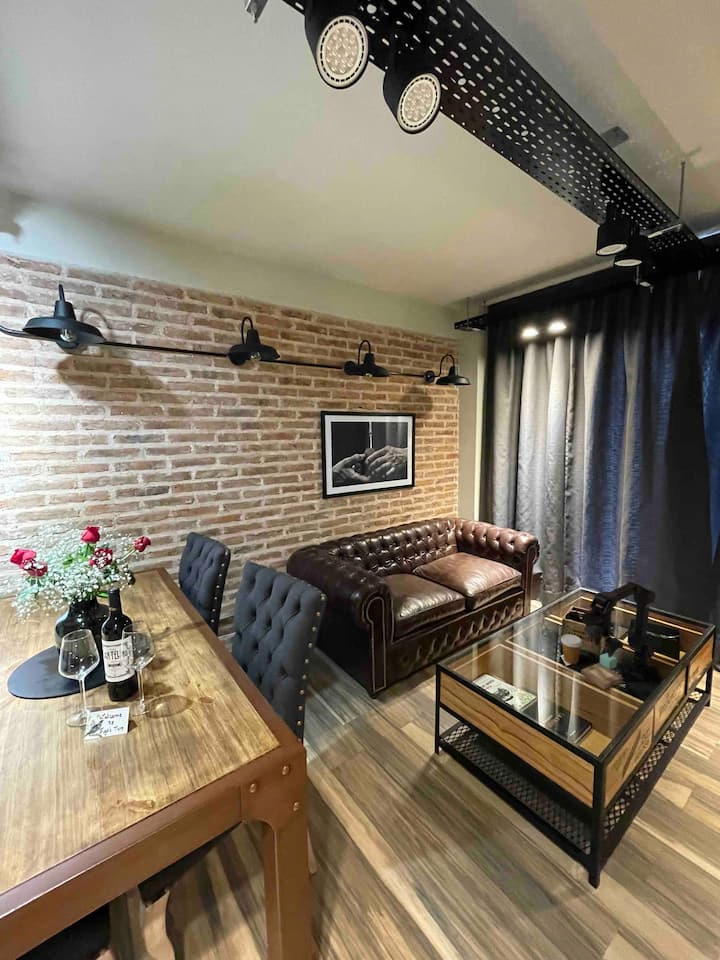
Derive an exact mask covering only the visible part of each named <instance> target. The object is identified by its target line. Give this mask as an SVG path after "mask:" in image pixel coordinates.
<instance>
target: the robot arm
mask: <svg viewBox="0 0 720 960" xmlns="http://www.w3.org/2000/svg"><path fill="white" fill-rule="evenodd" d="M632 595H633V600H634V602H635V604H636V607H635V611H636V612H635V620H634V627H633V628H634V630H633V633H632V634H631V635H628V637H627V638H628V640H627V644H628V646H629V649H630V650H632V651H634V652H633V658H632V660H630V663H631V664H633V665H635V666H636V667H638V668H640V669H642V670H645V669H647V668H650V667H652V666H653V664H651V663H650V661H649V660H650V659H652V658H653V657H654V654H655V651H654V650H653V648H652V647H651V642H650V640H649V638H648V624H649V614H650V607H651V606H653V605H654V604H655V599H656V596H657V595H656V592H654V591H653V590H651V589H649V588H646V587H644V586H642V585H640V584H639V583H636V582H634V581H628V582H627V583H626V584H624V585H621V586H620V587H617V588H615V589H613V590H610V591H600V592H597V593H596V594H595V596H594V597H593V598H592V601H591V602H590V605H589V606H588V607H589V608H590V609H589V610H585V613H583V614H582V615H581V621H582V623H584V625H585V627H583V631H584V633H585V636H587V637H588V638H589V639H590V640H592V639H593V640H594V643H595V646H596V647H598V646H599V645H600V643H601V639H602V638H604V646H605V647H606V650H607V653H608V657H612V656H614V654H615V653H616V651H618V649H623V648H624V642H623V641H621V640H620V639H618V638H617V637H612V636H614V632H613V631H612V627H614V624H613V623H612V612H615V611H616V609H615V608H614V607H617V604H618V602H620V601H621V600H624V599H626V598H627V597H630V596H632Z"/></svg>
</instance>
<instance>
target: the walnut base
mask: <svg viewBox="0 0 720 960" xmlns="http://www.w3.org/2000/svg"><path fill="white" fill-rule="evenodd" d="M580 675H581V676H582V677H584V678H586V679H587V680H588V679H589V680H588V681H590V682H591V681H592V684H595V685H596V686H598V687H599V688H601V689H602V690H604V691H605V690H607V689H610V688H612V687H614V686H617V685H619V684H621V683H623V678H624V677H623V676H621V675H620V674H618V673H617V672H615V671H613V669H611V670H610V669H608V668H607V667H605V666H603V665H602V664H600V662H598V663H595V664H593V665H589V666H588V667H585V668H582V669H581V670H580ZM620 682H621V683H620ZM618 683H619V684H618ZM616 684H617V685H616ZM611 686H612V687H611ZM609 687H610V688H609Z"/></svg>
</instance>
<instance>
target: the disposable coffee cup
mask: <svg viewBox="0 0 720 960" xmlns="http://www.w3.org/2000/svg"><path fill="white" fill-rule="evenodd" d="M560 642H561V643H562V644H561V645H562V653H563V655H562V656H563V661H565V663H567V662H568V663H567V664H569V663H571V664H570V665H576V663H577V664H578V663H579V658H580V653H581V647H582V645H583V641H582V639H581V638H580V637H579V636H577V635H574V634H572V633H571V634H569V633H567V634H563V635H562V636H561V638H560Z"/></svg>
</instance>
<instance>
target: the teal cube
mask: <svg viewBox="0 0 720 960" xmlns="http://www.w3.org/2000/svg"><path fill="white" fill-rule="evenodd" d="M617 661H618V660H617V657H615V656H614V655H612V657H608V652H606V653H603V654H600V655H599V663H600V664H602V665H603V666H605V667H607V668H608V669H610V670H614V669H616V668H617Z"/></svg>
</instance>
